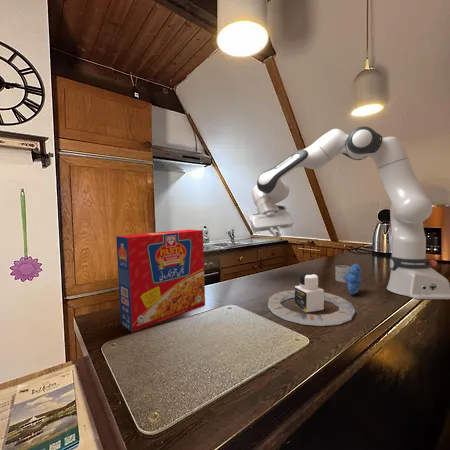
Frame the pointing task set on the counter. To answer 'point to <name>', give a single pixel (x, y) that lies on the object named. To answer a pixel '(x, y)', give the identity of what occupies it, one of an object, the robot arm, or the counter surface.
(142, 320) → the pasta box
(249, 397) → the counter surface
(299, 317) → the turntable ring
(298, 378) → the counter surface
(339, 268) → the mug
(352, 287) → the grapes
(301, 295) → the medicine bottle
